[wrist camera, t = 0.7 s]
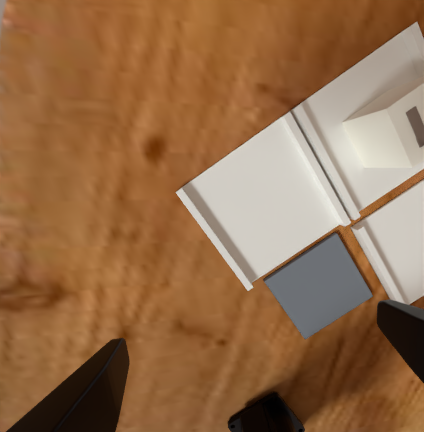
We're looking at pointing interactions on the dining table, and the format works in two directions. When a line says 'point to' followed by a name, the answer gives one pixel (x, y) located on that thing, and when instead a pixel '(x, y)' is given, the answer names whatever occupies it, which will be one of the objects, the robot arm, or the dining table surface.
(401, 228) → the tray
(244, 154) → the tray
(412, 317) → the robot arm
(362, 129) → the letter cube
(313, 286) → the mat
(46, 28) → the dining table surface
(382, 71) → the tray
